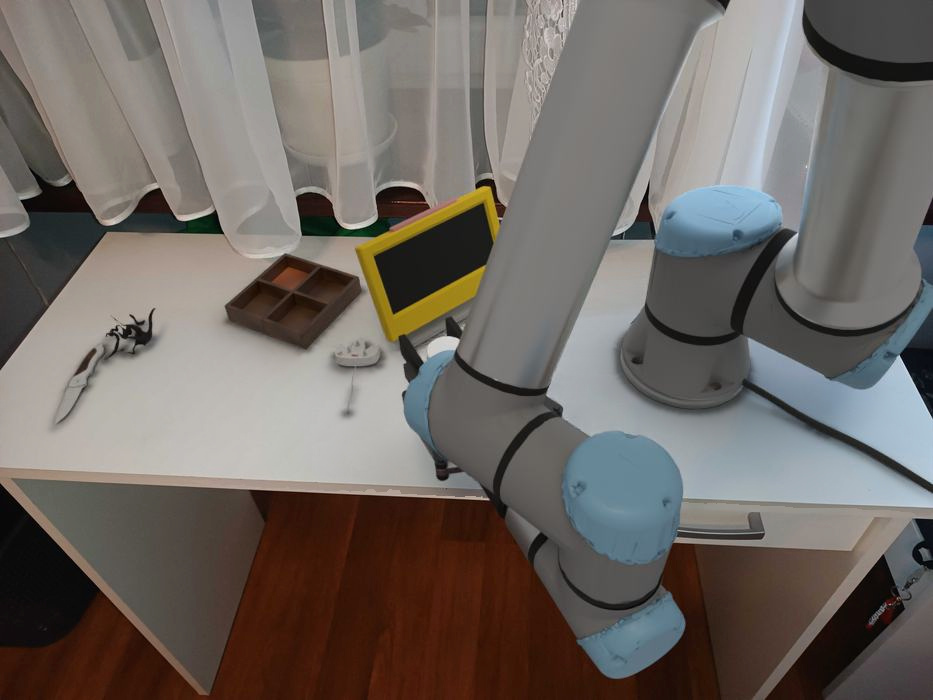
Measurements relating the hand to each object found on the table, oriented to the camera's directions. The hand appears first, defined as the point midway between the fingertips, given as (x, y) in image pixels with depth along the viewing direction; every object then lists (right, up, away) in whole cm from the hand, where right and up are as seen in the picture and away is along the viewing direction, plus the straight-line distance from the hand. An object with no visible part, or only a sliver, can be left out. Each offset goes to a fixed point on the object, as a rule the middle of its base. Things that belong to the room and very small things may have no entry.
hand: (426, 335), depth 76 cm
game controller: (-10, -5, +13) cm, 17 cm away
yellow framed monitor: (+1, +3, +21) cm, 21 cm away
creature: (-40, -1, +19) cm, 44 cm away
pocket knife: (-43, -6, +13) cm, 46 cm away
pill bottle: (+3, -8, +1) cm, 8 cm away
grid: (-19, +5, +23) cm, 30 cm away
